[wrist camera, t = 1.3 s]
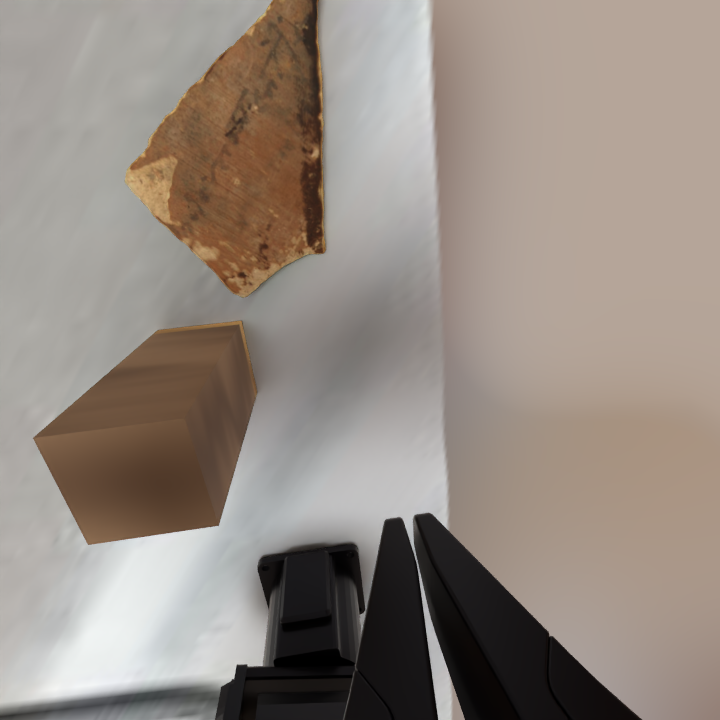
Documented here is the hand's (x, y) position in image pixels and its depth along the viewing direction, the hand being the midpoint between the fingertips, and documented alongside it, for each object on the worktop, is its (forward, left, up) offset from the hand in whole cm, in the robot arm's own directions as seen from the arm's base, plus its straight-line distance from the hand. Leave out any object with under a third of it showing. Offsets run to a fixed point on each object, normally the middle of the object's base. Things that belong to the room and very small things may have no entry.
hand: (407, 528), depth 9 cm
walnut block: (0, +7, -12) cm, 14 cm away
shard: (+9, +4, -13) cm, 16 cm away
